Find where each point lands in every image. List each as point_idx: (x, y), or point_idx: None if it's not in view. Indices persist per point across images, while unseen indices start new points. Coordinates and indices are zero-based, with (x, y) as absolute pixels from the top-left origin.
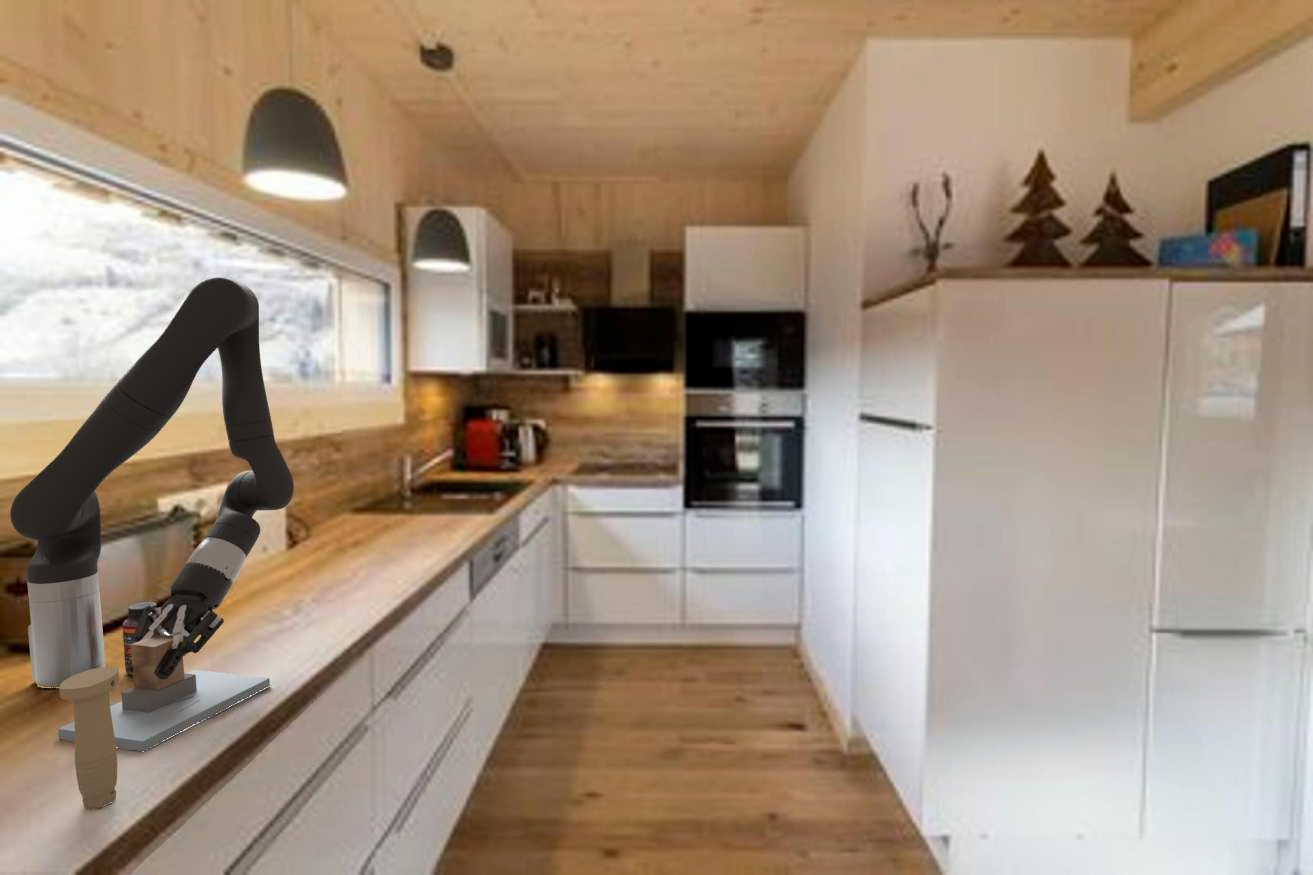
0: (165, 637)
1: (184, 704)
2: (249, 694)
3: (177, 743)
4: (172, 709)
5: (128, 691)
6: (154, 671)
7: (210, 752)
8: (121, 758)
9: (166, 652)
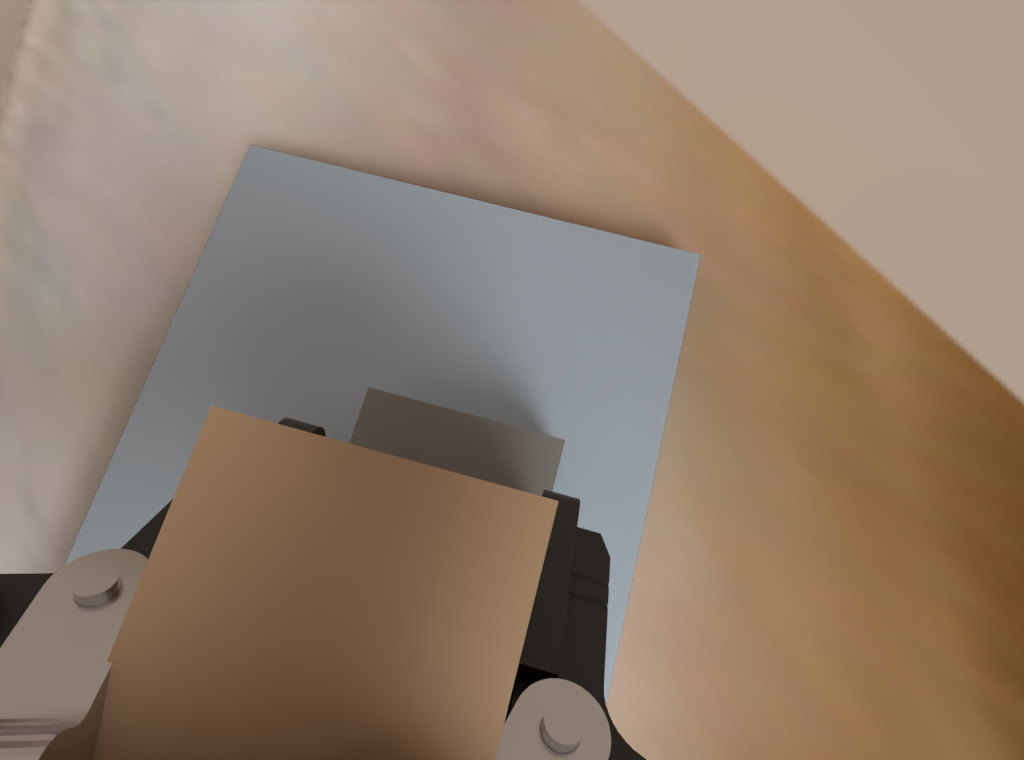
0: None
1: None
2: None
3: (177, 235)
4: None
5: (530, 452)
6: (314, 425)
7: (18, 169)
8: (325, 135)
9: None
